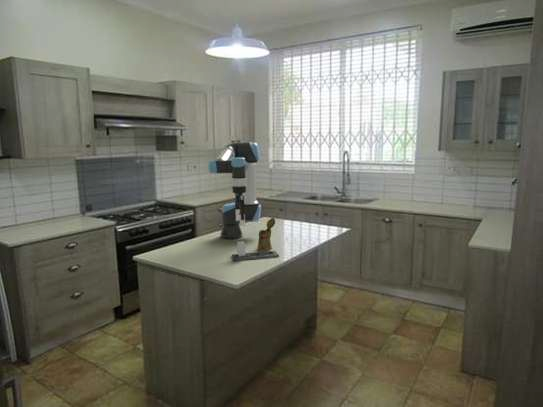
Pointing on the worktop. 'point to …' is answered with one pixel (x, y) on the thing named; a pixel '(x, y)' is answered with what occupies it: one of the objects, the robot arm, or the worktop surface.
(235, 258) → the dark grey slotted board
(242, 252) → the steel peg
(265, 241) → the wooden mug
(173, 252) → the worktop surface
